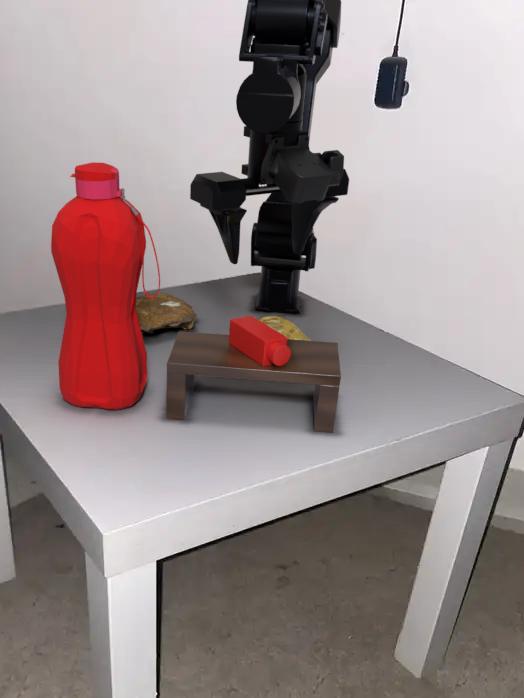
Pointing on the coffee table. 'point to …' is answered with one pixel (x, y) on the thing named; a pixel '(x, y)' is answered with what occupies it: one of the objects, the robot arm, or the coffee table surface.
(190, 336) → the shelf
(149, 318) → the decorative rock
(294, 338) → the fossil
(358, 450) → the coffee table surface
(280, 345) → the red square bottle
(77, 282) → the water bottle
